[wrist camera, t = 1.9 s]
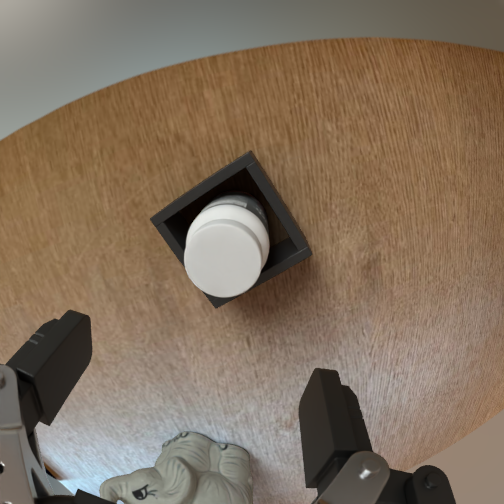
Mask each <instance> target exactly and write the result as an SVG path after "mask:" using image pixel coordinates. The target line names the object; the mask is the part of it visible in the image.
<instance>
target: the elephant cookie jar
mask: <svg viewBox="0 0 504 504" xmlns="http://www.w3.org/2000/svg"><path fill="white" fill-rule="evenodd" d="M99 491H100V497H101V498H103V499H106V500H108V501H111V502H114V503H115V504H117V503H116V502H117V500H121V501H122V502H124V504H253V479H252V476H251V473H250V465H249V454H248V453H247V452H246V451H245V450H243V449H242V448H240V447H237V446H234V445H230V444H221V443H214V442H213V441H211V440H210V439H208V438H206V437H204V436H202V435H200V434H197V433H192V432H182V433H179V434H178V435H177V436H176V437H174V438H173V439H172V440H168V441H166V442H165V443H163V445H162V453H161V455H160V456H159V457H158V459H157V460H156V463H155V466H154V467H151V468H143V469H139V470H136V471H134V472H132V473H131V474H127V475H121V476H116V477H113V478H110V479H108V480H106V481H104V482H103V483H102V484H101V486H100V490H99Z"/></svg>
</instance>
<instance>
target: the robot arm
mask: <svg viewBox="0 0 504 504" xmlns="http://www.w3.org/2000/svg"><path fill="white" fill-rule="evenodd" d="M91 357H92V337H91V321H90V317H89V316H88V315H85V314H82V313H79V312H76V311H73V310H68V311H67V312H66V313H65V314H64V315H63V316H62V317H61V318H60V319H59V320H57V319H53V320H51V321H49V322H47V323H45V324H43V325H42V326H41V327H40V328H39V329H38V330H37V331H36V332H35V334H33V335H32V336H31V337H30V338H29V341H27V342H26V343H25V344H24V345H23V346H22V347H21V348H20V349H19V350H18V351H17V352H16V353H15V354H14V356H13V357H12V358H11V359H10V360H9V361H8V362H7V363H6V364H5V365H4V364H0V504H115V503H114V502H111V501H108V500H106V499H103V498H100V497H97V496H95V495H92V494H90V493H87V492H85V491H82V490H80V489H78V490H77V492H76V494H75V496H70V495H54V492H53V489H52V487H51V485H50V482H49V480H48V478H47V475H46V471H45V468H44V464H43V460H42V456H41V451H40V447H39V443H38V438H37V433H36V429H35V427H36V425H37V423H38V422H39V421H40V422H42V423H44V424H46V425H48V426H50V425H51V423H52V421H53V420H54V418H55V416H56V415H57V413H58V412H59V410H60V408H61V407H62V405H63V404H64V402H65V400H66V399H67V397H68V396H69V394H70V392H71V391H72V389H73V388H74V386H75V385H76V383H77V382H78V380H79V379H80V377H81V375H82V374H83V372H84V371H85V369H86V368H87V366H88V365H89V363H90V360H91ZM362 417H363V416H362V412H361V410H360V406H359V403H358V399H357V396H356V395H355V394H354V393H353V391H352V390H351V389H350V388H349V386H345V385H341V381H340V377H339V374H338V372H337V371H336V370H329V369H321V368H315V369H314V371H313V373H312V375H311V377H310V380H309V382H308V384H307V386H306V388H305V391H304V393H303V395H302V397H301V400H300V404H299V422H300V432H301V441H302V451H303V462H304V472H305V483H306V488H317V492H318V496H317V497H316V498H315V499H314V500H313V502H312V503H311V504H456V502H455V499H454V496H453V493H452V490H451V487H450V484H449V481H448V478H447V476H446V475H445V474H444V472H443V471H442V470H440V469H439V468H437V467H435V466H431V465H425V466H422V467H420V468H418V469H417V470H416V471H415V472H414V473H413V474H412V473H407V472H402V471H398V470H394V469H390V468H389V465H388V463H387V462H386V460H385V459H384V458H383V457H381V456H380V455H378V454H376V453H374V452H373V450H372V446H371V443H370V439H369V436H368V432H367V429H366V426H365V422H364V419H362Z"/></svg>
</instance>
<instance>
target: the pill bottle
mask: <svg viewBox="0 0 504 504" xmlns="http://www.w3.org/2000/svg"><path fill="white" fill-rule="evenodd" d="M269 248H270V243H269V230H268V218H267V214H266V211H265V209H264V207H263V206H262V204H261V203H260V202H259V201H258V200H257V199H256V198H255V197H254V196H252V195H250V194H248V193H246V192H243V191H226V192H223V193H221V194H219V195H217V196H215V197H214V198H213V199H212V200H211V201H210V202H209V203H208V204H207V205H206V206H205V208H204V209H203V210H202V211H201V212H200V214H199V215H198V216H197V217H196V218H195V220H194V221H193V223H192V224H191V226H190V228H189V231H188V234H187V238H186V249H185V253H184V264H185V269H186V272H187V274H188V276H189V278H190V279H191V281H192V282H193V283H194V284H195V285H196V286H197V287H198V288H199V289H200V290H202V291H203V292H205V293H207V294H210V295H212V296H216V297H233V296H237V295H240V294H242V293H244V292H246V291H247V290H248V289H250V288H251V287H252V286H253V285H254V284H255V282H256V281H257V279H258V277H259V275H260V272H261V270H262V268H263V267H264V265H265V263H266V261H267V258H268V254H269Z"/></svg>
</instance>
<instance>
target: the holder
mask: <svg viewBox="0 0 504 504" xmlns="http://www.w3.org/2000/svg"><path fill="white" fill-rule="evenodd" d="M245 167H246V169H247V170H248V172H249V173H250V175H251V176H252V178H253V179H254V181H255V183H256V184H257V186H258V187H259V189H260V190H261V192H262V193H263V195H264V197H265V198H266V200H267V201H268V203H269V204H270V206H271V208H272V209H273V211H274V212H275V214H276V215H277V217H278V219H279V220H280V222H281V223H282V225H283V227H284V228H285V230H286V231H287V233H288V235H289V236H290V237H288V238H287V239H285V240H283V241H282V242H280V243H278V244H276V245H275V246H273V247H271V248H270V249H269V254H268V258H267V261H266V263H265V265H264V267H263V268H262V270H261V272H260V275H259V277H258V279H257V281H256V282H255V284H254V285H253V286H252V287H251V288H250V289H248V290H247V291H249V290H251V289H253V288H255V287H256V286H258V285H260V284H262V283H263V282H265V281H267V280H269V279H271V278H272V277H274V276H276V275H278V274H279V273H281V272H283V271H285V270H287V269H288V268H290V267H292V266H294V265H295V264H297V263H299V262H301V261H302V260H304V259H306V258H308V257H309V256H311V255H312V251H311V249H310V247H309V244H308V242H307V240H306V237H305V235H304V234H303V232H302V231H301V229H300V227H299V225H298V224H297V222H296V221H295V219H294V217H293V216H292V214H291V212H290V211H289V209H288V207H287V206H286V204H285V203H284V201H283V199H282V198H281V196H280V195H279V193H278V191H277V190H276V188H275V187H274V185H273V183H272V182H271V180H270V179H269V177H268V176H267V174H266V172H265V171H264V169H263V168H262V166H261V165H260V163H259V161H258V160H257V158H256V157H255V155H254V154H253V152H252V151H251V150H250V151H248V152H247V153H245V154H244V155H242V156H240V157H239V158H237V159H236V160H234V161H233V162H231V163H230V164H228V165H226V166H225V167H223V168H222V169H220V170H219V171H217V172H216V173H214V174H213V175H211V176H210V177H208V178H207V179H205V180H204V181H202V182H201V183H199V184H198V185H196V186H195V187H193V188H192V189H190V190H189V191H187V192H186V193H184V194H183V195H182V196H180V197H179V198H177V199H176V200H174V201H173V202H172V203H170V204H169V205H167V206H166V207H165V208H163V209H162V210H161V211H159V212H158V213H157V214H155V215H154V216H153V217H152V218H150V220H151V221H152V223H153V224H154V226H155V227H156V228H157V230H158V231H159V233H160V234H161V236H162V237H163V238H164V240H165V241H166V243H167V244H168V245H169V247H170V248H171V250H172V251H173V252H174V254H175V255H176V256H177V258H178V259H179V261H180V262H181V263H182V265H183V266H184V267H185V264H184V253H185V249H186V238H187V234H188V231H189V228H190V227H189V225H188V224H187V222H186V221H185V219H184V218H183V217H182V215H181V214H180V212H179V211H180V210H181V209H183V208H184V207H186V206H187V205H189V204H190V203H192V202H193V201H195V200H196V199H198V198H199V197H200V196H202V195H204V194H205V193H207V192H208V191H210V190H211V189H213V188H214V187H216V186H217V185H219V184H220V183H222V182H223V181H225V180H226V179H228V178H230V177H231V176H233V175H234V174H236V173H237V172H239V171H241V170H242V169H244V168H245ZM247 291H246V292H247ZM246 292H244V293H246ZM203 293H204V294H205V295H206V297H207V298H208V299H209V301H211V303H212V304H213V306H214V307H215V308H218V307H220V306H222V305H224V304H226V303H227V302H229V301H231V300H233V299H235V298H236V297H238V296H240V295H242V294H244V293H242V294H240V295H237V296H233V297H216V296H212V295H210V294H207V293H205V292H203Z"/></svg>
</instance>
